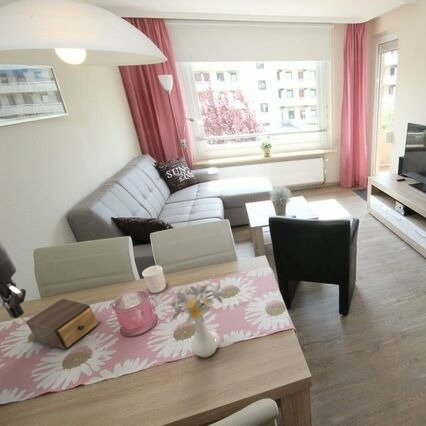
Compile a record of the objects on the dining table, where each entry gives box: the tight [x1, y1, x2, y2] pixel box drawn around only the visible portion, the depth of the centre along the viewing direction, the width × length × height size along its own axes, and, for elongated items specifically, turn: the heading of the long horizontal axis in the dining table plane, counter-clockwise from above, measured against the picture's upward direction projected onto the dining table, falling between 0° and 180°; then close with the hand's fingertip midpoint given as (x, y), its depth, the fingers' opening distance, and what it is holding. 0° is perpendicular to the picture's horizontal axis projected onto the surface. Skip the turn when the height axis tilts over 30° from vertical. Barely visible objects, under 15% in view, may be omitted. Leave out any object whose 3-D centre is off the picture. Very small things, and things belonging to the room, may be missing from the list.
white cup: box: [141, 265, 167, 294], centre depth 132 cm, size 8×8×10 cm
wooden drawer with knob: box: [57, 307, 99, 348], centre depth 110 cm, size 15×11×8 cm
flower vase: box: [168, 281, 226, 358], centre depth 98 cm, size 13×18×25 cm
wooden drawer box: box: [25, 298, 99, 350], centre depth 110 cm, size 15×13×10 cm
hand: (17, 315), depth 79 cm, fingers closed
